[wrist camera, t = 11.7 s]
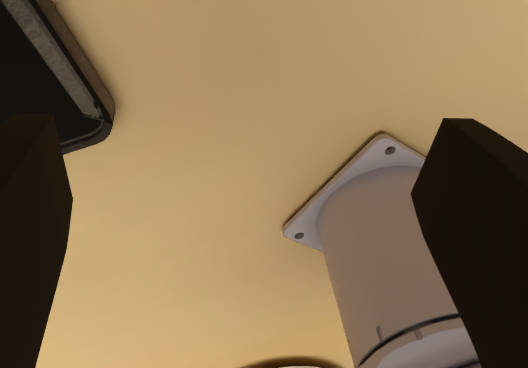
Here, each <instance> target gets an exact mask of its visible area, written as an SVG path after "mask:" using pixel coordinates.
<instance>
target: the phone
mask: <svg viewBox="0 0 528 368" xmlns="http://www.w3.org/2000/svg"><path fill="white" fill-rule="evenodd" d="M14 113H47V114H53V116H54V121H55V125H56V129H57V133H58V138H59V142H60V146H61V150H62V155H64V154H67V153H70V152H73V151H76V150H79V149H82V148H85V147H89V146H92V145H95V144H97V143H99V142H102V141H104V140H105V139H106V138H107V137H108V136H109V135H110V132H111V130H112V126H113V121H114V115H115V105H114V102H113V100H112V98H111V96H110V94H109V93H108V91H107V90H106V88H105V87H104V85H103V83H102V82H101V80H100V79H99V77H98V75H97V74H96V72H95V71H94V69H93V67H92V66H91V64H90V63H89V61H88V59H87V58H86V56H85V55H84V53H83V51H82V50H81V48H80V47H79V45H78V43H77V42H76V40H75V39H74V37H73V35H72V34H71V32H70V31H69V29H68V27H67V26H66V24H65V23H64V21H63V19H62V18H61V16H60V15H59V13H58V11H57V10H56V8H55V7H54V5H53V4H52V2H51V0H0V126H1V125H2V124H3V123H4V122H5V121H6V120H7V119H8V118H10V117H11V116H12V115H13V114H14Z"/></svg>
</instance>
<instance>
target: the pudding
mask: <svg viewBox="0 0 528 368" xmlns="http://www.w3.org/2000/svg"><path fill="white" fill-rule="evenodd" d="M280 368H320V367H311V366H290V367H280Z"/></svg>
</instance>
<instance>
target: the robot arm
mask: <svg viewBox="0 0 528 368" xmlns="http://www.w3.org/2000/svg"><path fill="white" fill-rule="evenodd" d="M388 147H392V148H390V149H388V150H386V149H387V148H388ZM72 202H73V197H72V193H71V189H70V185H69V180H68V176H67V172H66V168H65V163H64V159H63V155H62V150H61V146H60V142H59V138H58V133H57V129H56V125H55V121H54V116H53V114H47V113H14V114H13V115H12V116H11V117H10V118H8V119H7V120H6V121H5V122H4V123H3V124H2V125H1V126H0V368H35V366H36V362H37V358H38V355H39V351H40V347H41V344H42V340H43V336H44V332H45V329H46V325H47V321H48V317H49V314H50V310H51V306H52V303H53V299H54V295H55V291H56V288H57V284H58V280H59V276H60V272H61V269H62V265H63V261H64V257H65V253H66V249H67V242H68V235H69V228H70V220H71V211H72ZM297 233H299V234H297ZM283 235H284V236H285V237H286V238H288V239H291V240H293V241H296V242H299V243H301V244H304V245H306V246H309V247H311V248H314V249H317V250H319V251H322V252H323V254H324V257H325V261H326V265H327V268H328V272H329V276H330V279H331V283H332V287H333V290H334V294H335V298H336V301H337V305H338V308H339V312H340V316H341V319H342V323H343V327H344V330H345V334H346V338H347V341H348V345H349V349H350V352H351V356H352V360H353V363H354V367H355V368H528V153H527V152H525V151H524V150H522V149H521V148H519V147H518V146H516V145H515V144H513V143H512V142H510V141H509V140H507V139H506V138H504V137H503V136H501V135H500V134H498V133H496V132H495V131H493V130H492V129H490V128H488V127H486V126H485V125H483V124H481V123H479V122H478V121H476V120H474V119H463V118H443V120H442V123H441V125H440V127H439V129H438V132H437V134H436V136H435V139H434V141H433V143H432V145H431V148H430V150H429V152H428V154H427V157H424V156H423V155H421V154H419V153H418V152H416V151H414V150H413V149H411V148H409V147H408V146H406V145H404V144H403V143H401V142H399V141H398V140H396V139H394V138H393V137H391V136H389V135H387V134H380V135H377V136H376V137H374V138H373V139H372V140H371V141H370V142H369V143H368V144H367V145H366V146H365V147H364V148H363V149H362V150H361V151H360V152H359V153H358V154H357V155H356V156H355V157H354V158H353V159H352V160H351V161H350V162H349V163H348V164H347V165H346V166H345V167H344V168H343V169H341V170H340V171H339V172H338V173H337V174H336V175H335V176H334V177H333V178H332V179H331V180H330V181H329V182H328V183H327V184H326V185H325V186H324V187H323V188H322V189H321V190H320V191H319V192H318V193H317V194H316V195H315V196H314V197H313V198H312V199H311V200H310V201H309V202H308V203H307V204H306V205H305V206H304V207H303V208H302V209H301V210H300V211H299V212H298V213H297V214H296V215H295V216H294V217H293V218H292V219H290V220H289V221H288V222H287V223H286V224H285V225H284V227H283Z"/></svg>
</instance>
